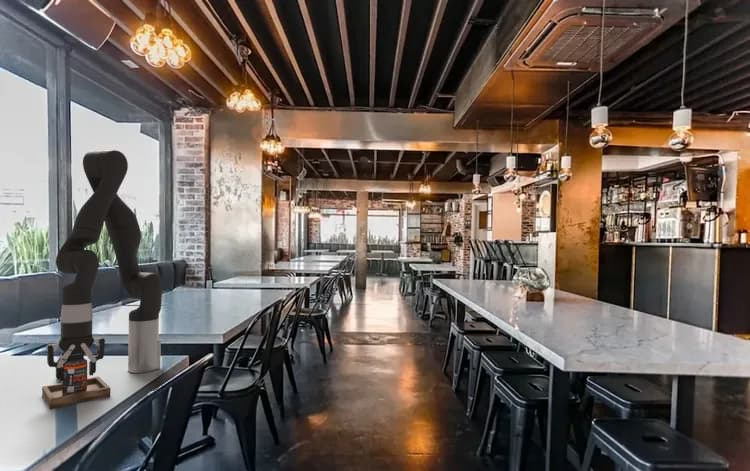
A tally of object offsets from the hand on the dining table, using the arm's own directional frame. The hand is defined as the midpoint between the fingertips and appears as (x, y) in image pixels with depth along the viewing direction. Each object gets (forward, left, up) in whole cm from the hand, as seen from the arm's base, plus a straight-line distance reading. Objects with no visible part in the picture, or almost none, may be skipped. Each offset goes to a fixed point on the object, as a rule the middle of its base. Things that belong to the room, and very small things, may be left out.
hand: (76, 377), depth 127 cm
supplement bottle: (0, 0, -4) cm, 4 cm away
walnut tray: (0, 0, -5) cm, 5 cm away
